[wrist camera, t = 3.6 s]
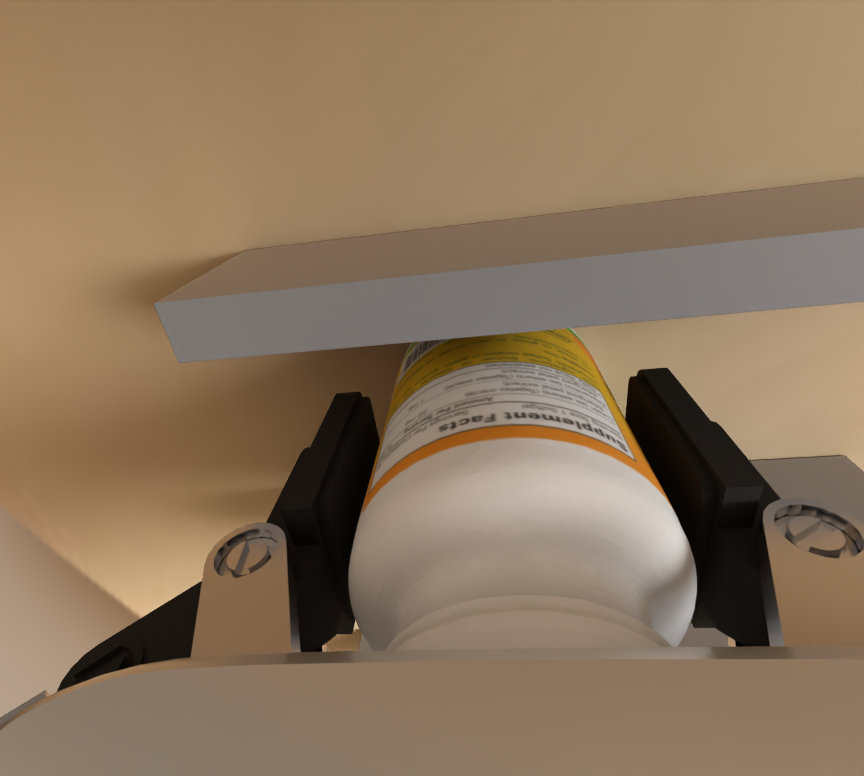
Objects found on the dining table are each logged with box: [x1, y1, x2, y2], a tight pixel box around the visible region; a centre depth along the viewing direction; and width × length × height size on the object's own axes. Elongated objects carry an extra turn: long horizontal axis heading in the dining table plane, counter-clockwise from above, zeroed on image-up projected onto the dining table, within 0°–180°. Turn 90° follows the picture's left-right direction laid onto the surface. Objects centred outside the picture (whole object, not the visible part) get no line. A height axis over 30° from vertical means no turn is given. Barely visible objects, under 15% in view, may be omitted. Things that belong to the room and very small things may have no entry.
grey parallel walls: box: [153, 178, 864, 651], centre depth 14 cm, size 24×16×7 cm, turn 7°
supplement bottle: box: [348, 328, 697, 651], centre depth 9 cm, size 5×5×10 cm
